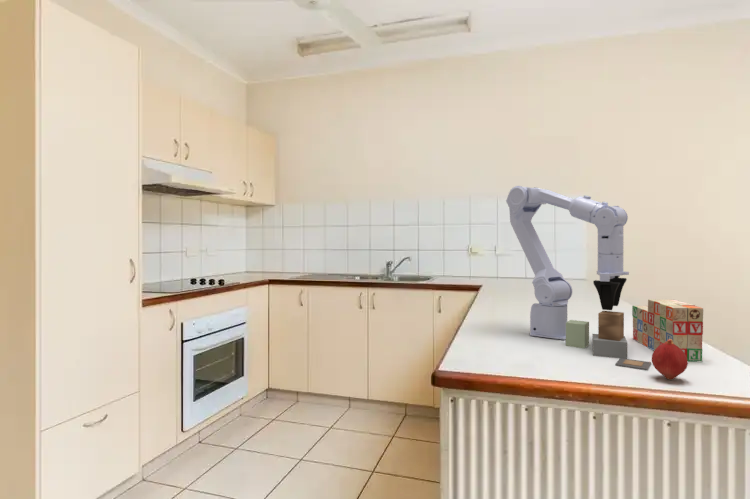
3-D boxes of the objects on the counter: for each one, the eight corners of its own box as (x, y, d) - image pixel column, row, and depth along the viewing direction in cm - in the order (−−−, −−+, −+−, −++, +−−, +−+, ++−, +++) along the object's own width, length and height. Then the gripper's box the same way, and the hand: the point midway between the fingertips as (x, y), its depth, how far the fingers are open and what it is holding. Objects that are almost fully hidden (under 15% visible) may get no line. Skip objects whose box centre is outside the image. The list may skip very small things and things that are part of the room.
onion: (644, 375, 87) (644, 335, 87) (671, 374, 88) (671, 334, 88) (666, 384, 82) (666, 342, 81) (695, 383, 82) (695, 341, 82)
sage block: (565, 345, 112) (565, 322, 111) (570, 342, 115) (570, 319, 115) (584, 348, 109) (584, 324, 109) (589, 344, 112) (589, 321, 112)
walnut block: (598, 338, 103) (598, 313, 103) (603, 334, 107) (603, 310, 107) (619, 341, 101) (619, 315, 100) (623, 337, 104) (623, 312, 104)
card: (615, 365, 94) (615, 363, 94) (620, 359, 99) (620, 357, 99) (647, 370, 90) (647, 368, 90) (651, 363, 95) (651, 361, 95)
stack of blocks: (631, 339, 118) (632, 294, 118) (657, 339, 117) (657, 294, 117) (672, 361, 97) (672, 306, 97) (703, 362, 96) (703, 307, 96)
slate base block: (593, 356, 102) (593, 339, 102) (592, 349, 108) (592, 333, 108) (627, 359, 99) (627, 342, 99) (624, 352, 105) (624, 336, 105)
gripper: (623, 255, 101) (623, 313, 101) (633, 253, 112) (633, 305, 113) (590, 254, 105) (590, 310, 106) (603, 252, 117) (602, 303, 117)
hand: (610, 307), depth 110 cm, fingers open, 7 cm apart
